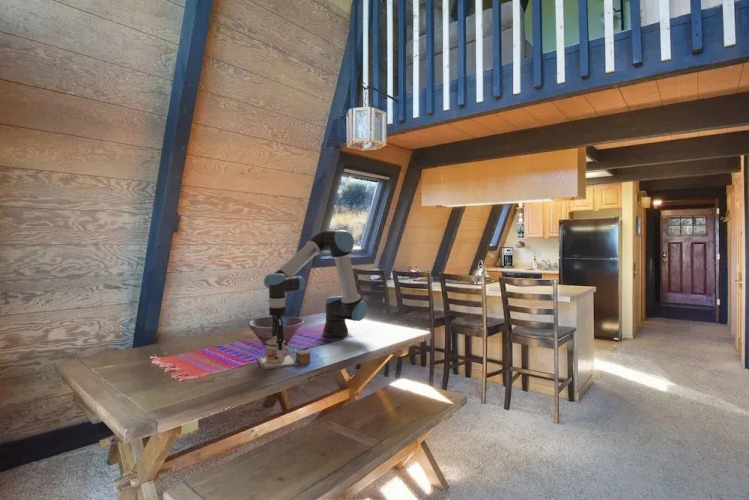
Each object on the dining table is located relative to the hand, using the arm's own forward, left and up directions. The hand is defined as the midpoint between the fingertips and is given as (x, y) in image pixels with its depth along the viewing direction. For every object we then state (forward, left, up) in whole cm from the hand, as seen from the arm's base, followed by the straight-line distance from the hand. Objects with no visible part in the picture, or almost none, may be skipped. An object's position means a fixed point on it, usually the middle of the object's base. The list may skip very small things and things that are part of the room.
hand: (277, 353), depth 196 cm
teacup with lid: (+1, 0, -3) cm, 3 cm away
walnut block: (+5, +11, -4) cm, 13 cm away
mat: (0, 0, -4) cm, 4 cm away
